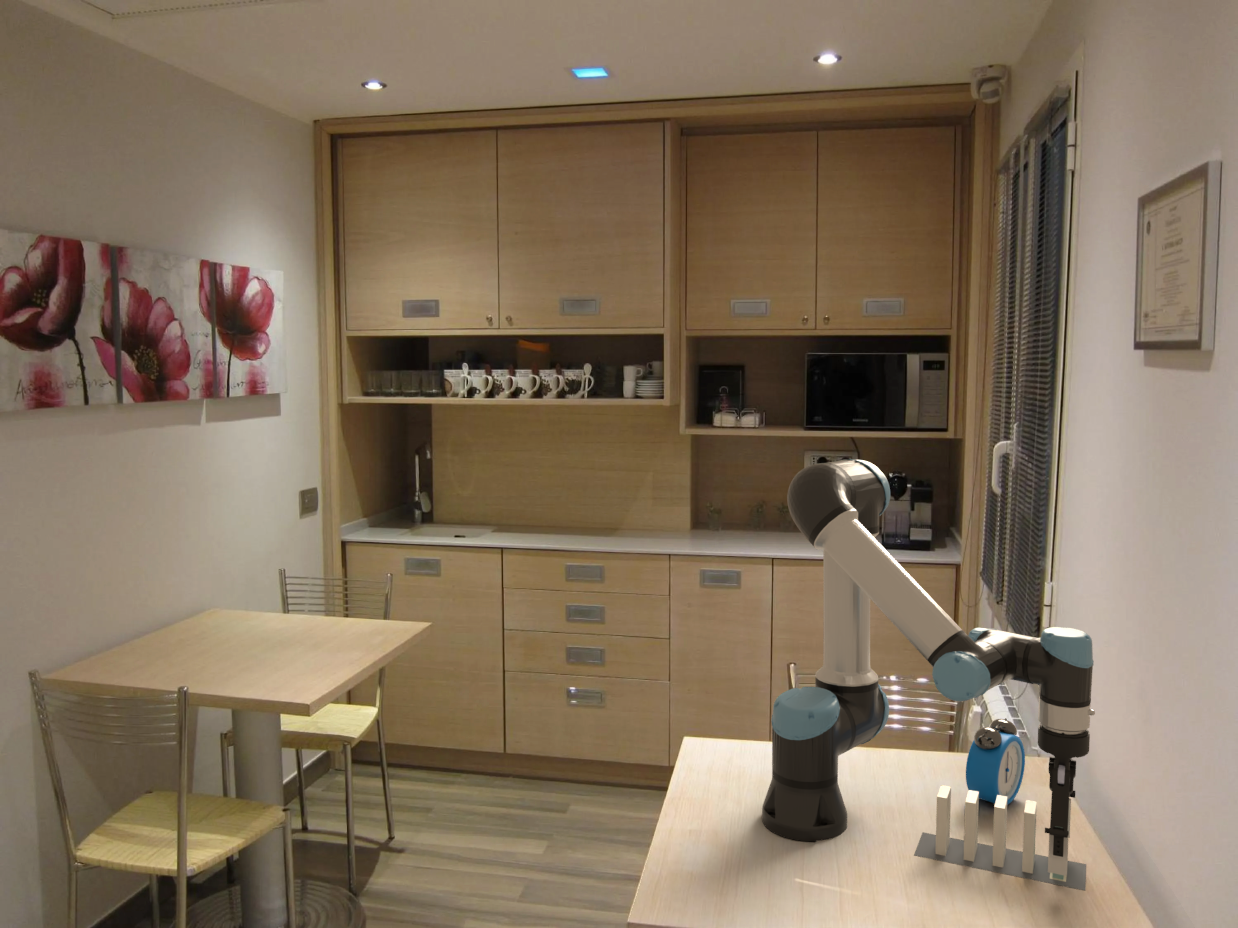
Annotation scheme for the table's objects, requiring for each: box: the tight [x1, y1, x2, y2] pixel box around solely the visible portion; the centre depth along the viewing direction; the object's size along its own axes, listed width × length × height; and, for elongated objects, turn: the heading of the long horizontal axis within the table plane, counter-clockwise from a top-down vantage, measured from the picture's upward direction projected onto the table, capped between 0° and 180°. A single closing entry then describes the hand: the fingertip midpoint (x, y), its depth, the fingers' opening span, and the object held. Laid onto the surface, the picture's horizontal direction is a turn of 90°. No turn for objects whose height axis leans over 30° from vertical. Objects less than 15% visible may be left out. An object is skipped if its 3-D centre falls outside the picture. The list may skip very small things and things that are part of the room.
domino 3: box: [992, 795, 1008, 867], centre depth 161 cm, size 2×5×10 cm, turn 154°
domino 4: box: [1022, 799, 1037, 874], centre depth 160 cm, size 2×5×10 cm, turn 154°
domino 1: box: [935, 785, 952, 856], centre depth 165 cm, size 2×5×10 cm, turn 154°
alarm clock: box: [965, 718, 1026, 806], centre depth 184 cm, size 13×6×15 cm, turn 135°
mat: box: [913, 832, 1087, 891], centre depth 162 cm, size 26×9×1 cm, turn 64°
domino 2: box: [963, 790, 980, 862], centre depth 163 cm, size 2×5×10 cm, turn 154°
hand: (1059, 853), depth 158 cm, fingers open, 13 cm apart
